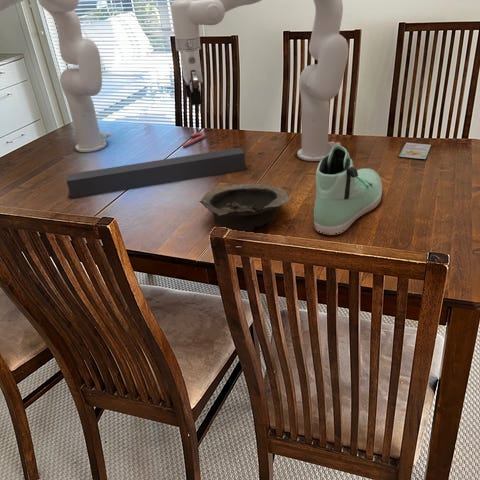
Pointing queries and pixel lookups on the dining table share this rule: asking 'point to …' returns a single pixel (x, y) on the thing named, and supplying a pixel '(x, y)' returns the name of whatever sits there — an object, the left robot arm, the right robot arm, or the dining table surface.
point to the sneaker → (343, 192)
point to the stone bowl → (244, 205)
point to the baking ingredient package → (415, 150)
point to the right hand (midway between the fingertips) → (194, 100)
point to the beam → (155, 172)
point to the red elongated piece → (201, 136)
